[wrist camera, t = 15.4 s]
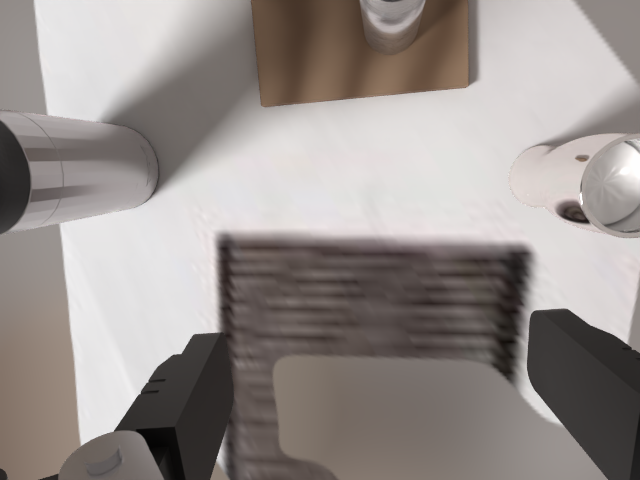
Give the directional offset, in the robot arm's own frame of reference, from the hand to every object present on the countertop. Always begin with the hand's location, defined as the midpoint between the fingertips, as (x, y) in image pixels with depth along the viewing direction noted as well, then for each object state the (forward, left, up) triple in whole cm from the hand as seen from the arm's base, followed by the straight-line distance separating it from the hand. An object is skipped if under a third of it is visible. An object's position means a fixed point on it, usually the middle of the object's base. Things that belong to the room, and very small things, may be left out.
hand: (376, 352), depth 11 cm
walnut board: (-1, +17, -33) cm, 37 cm away
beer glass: (+16, +2, -33) cm, 37 cm away
